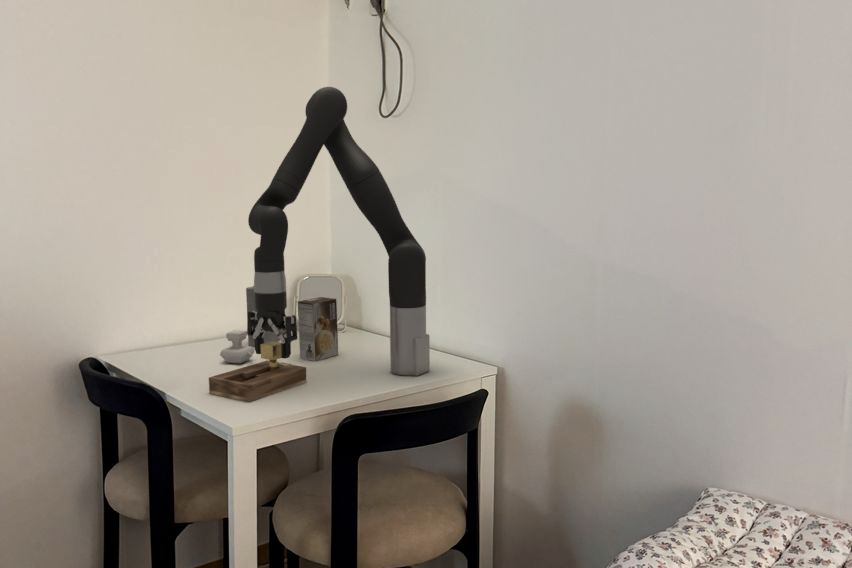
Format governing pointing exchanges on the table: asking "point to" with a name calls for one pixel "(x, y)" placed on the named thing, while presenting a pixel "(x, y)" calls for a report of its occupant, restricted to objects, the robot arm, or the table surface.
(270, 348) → the brass keyhole peg
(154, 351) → the table surface
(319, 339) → the coffee box
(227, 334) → the stamp
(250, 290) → the hip flask
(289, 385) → the keyhole plate
